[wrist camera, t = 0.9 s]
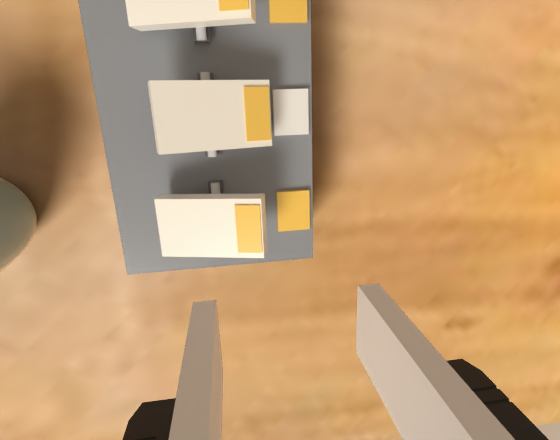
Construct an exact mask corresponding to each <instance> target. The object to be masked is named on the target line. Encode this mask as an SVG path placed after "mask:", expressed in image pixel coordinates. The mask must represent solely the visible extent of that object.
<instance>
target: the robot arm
mask: <svg viewBox="0 0 560 440" xmlns="http://www.w3.org/2000/svg"><path fill="white" fill-rule="evenodd" d="M356 352H357V354H358V356H359V358H360V360H361V362H362V364H363V366H364V367H365V369H366V371H367V373H368V375H369V377H370V379H371V381H372V382H373V384H374V386H375V388H376V390H377V392H378V394H379V396H380V397H381V399H382V401H383V403H384V405H385V407H386V409H387V411H388V412H389V414H390V416H391V418H392V420H393V422H394V424H395V426H396V428H397V429H398V431H399V433H400V435H401V437H402V439H403V440H548V439H547V437H546V436H545V435H544V434H542V432H541V431H540V430H539V429H538V428H537V427H536V426H535V425H534V424H533V423H532V422H531V421H530V420H529V419H528V418H527V417H526V416H525V415H524V414H523V413H522V412H521V411H520V410H519V409H518V408H517V407H516V406H515V405H514V404H513V403H512V402H510V401H509V398H508V397H507V396H506V395H505V394H504V393H503V392H502V391H501V390H500V389H497V388H496V385H495V384H494V383H493V382H492V381H491V380H490V379H489V378H488V377H487V376H486V375H485V374H484V373H483V372H482V371H481V370H479V369H478V368H476V367H475V366H473V365H471V364H470V363H468V362H466V361H465V360H463V359H457V360H449V361H446V360H445V359H444V358H443V357H442V355H441V354H440V353H439V352H438V351H437V350H436V349H435V347H434V346H433V345H432V344H431V343H430V342H429V341H428V339H427V338H426V337H425V336H424V335H423V334H422V332H421V331H420V330H419V329H418V328H417V327H416V326H415V324H414V323H413V322H412V321H411V320H410V319H409V318H408V316H407V315H406V314H405V313H404V312H403V311H402V310H401V308H400V307H399V306H398V305H397V304H396V303H395V302H394V300H393V299H392V298H391V297H390V296H389V295H388V294H387V292H386V291H385V290H384V289H383V288H382V287H381V286H380V284H369V285H359V286H358V303H357V334H356ZM222 396H223V363H222V354H221V344H220V334H219V324H218V314H217V304H216V300H212V301H202V302H193V305H192V310H191V316H190V322H189V327H188V333H187V339H186V344H185V350H184V355H183V361H182V367H181V372H180V378H179V383H178V389H177V395H176V398H174V399H167V400H159V401H152V402H144V403H142V404H141V405H140V407H139V408H138V409H137V411H136V412H135V413H134V415H133V416H132V417H131V418H130V420H129V421H128V424H127V428H126V431H125V434H124V437H123V440H222Z"/></svg>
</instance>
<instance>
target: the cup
mask: <svg viewBox="0 0 560 440" xmlns="http://www.w3.org/2000/svg"><path fill="white" fill-rule="evenodd" d="M36 225H37V216H36V212H35V209H34V207H33V205H32V203H31V201H30V200H29V199H28V197H27V196H26V195H25V194H24V193H23V192H22V191H21V190H20V189H19V188H17V187H16V186H14V185H13V184H12V183H10V182H8V181H6V180H4V179H2V178H0V272H1V271H2V270H3V269H4V268H6V267H7V266H8V265H9V264H10V263H12V262H13V261H14V260H15V259H16V258H17V257H18V256H19V255H20V254H21V253H22V252H23V250H24V249H25V248H26V247H27V245H28V244H29V242H30V241H31V239H32V237H33V235H34V233H35V229H36Z"/></svg>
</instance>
